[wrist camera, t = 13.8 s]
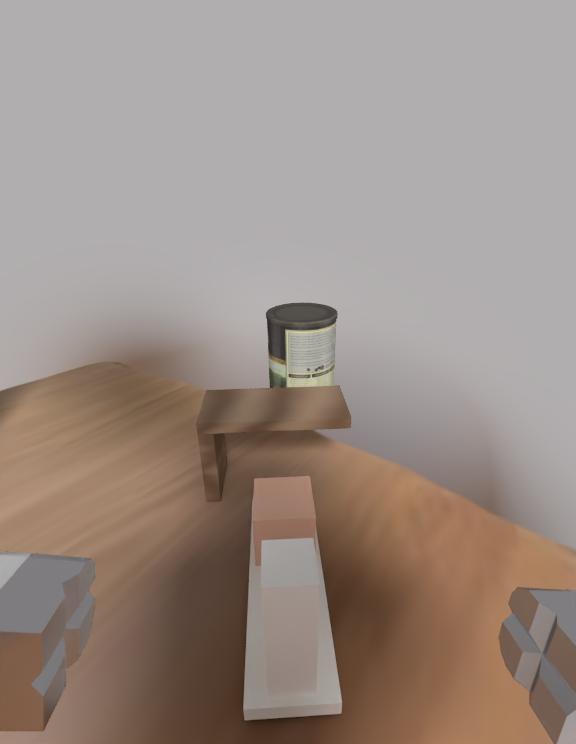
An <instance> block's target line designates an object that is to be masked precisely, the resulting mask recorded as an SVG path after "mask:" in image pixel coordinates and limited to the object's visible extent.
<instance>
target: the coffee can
mask: <svg viewBox="0 0 576 744" xmlns="http://www.w3.org/2000/svg"><path fill="white" fill-rule="evenodd" d="M266 317H267V325H268V327H267V328H268V350H269V375H270V376H269V377H270V388H285V387H313V386H334V363H335V336H336V319H337V311H336V310H335V309H333V308H332V307H329V306H326V305H321V304H316V303H290V304H283V305H279V306H275V307H273V308H271V309H269V310H268V311H267V312H266Z"/></svg>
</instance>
